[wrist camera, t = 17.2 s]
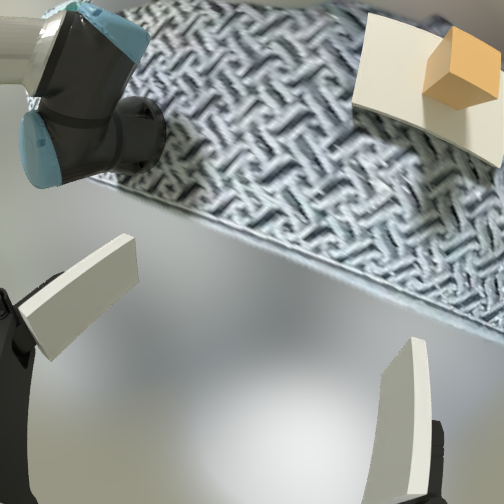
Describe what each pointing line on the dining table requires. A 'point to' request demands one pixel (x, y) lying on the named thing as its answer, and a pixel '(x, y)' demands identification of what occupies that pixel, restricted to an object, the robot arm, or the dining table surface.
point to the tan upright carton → (462, 71)
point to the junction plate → (410, 91)
